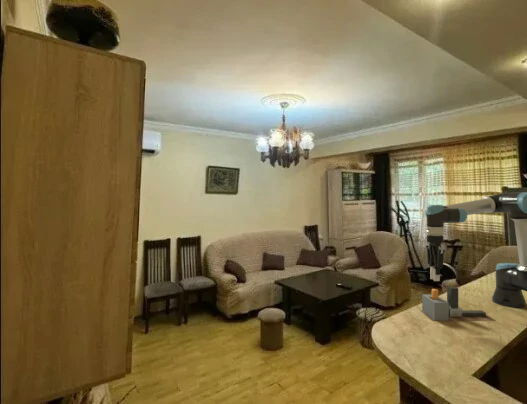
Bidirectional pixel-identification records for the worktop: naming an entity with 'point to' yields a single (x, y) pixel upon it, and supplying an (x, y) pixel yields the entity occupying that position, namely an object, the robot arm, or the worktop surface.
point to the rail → (473, 313)
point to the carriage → (453, 302)
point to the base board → (465, 318)
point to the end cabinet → (435, 307)
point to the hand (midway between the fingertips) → (434, 279)
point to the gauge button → (434, 294)
